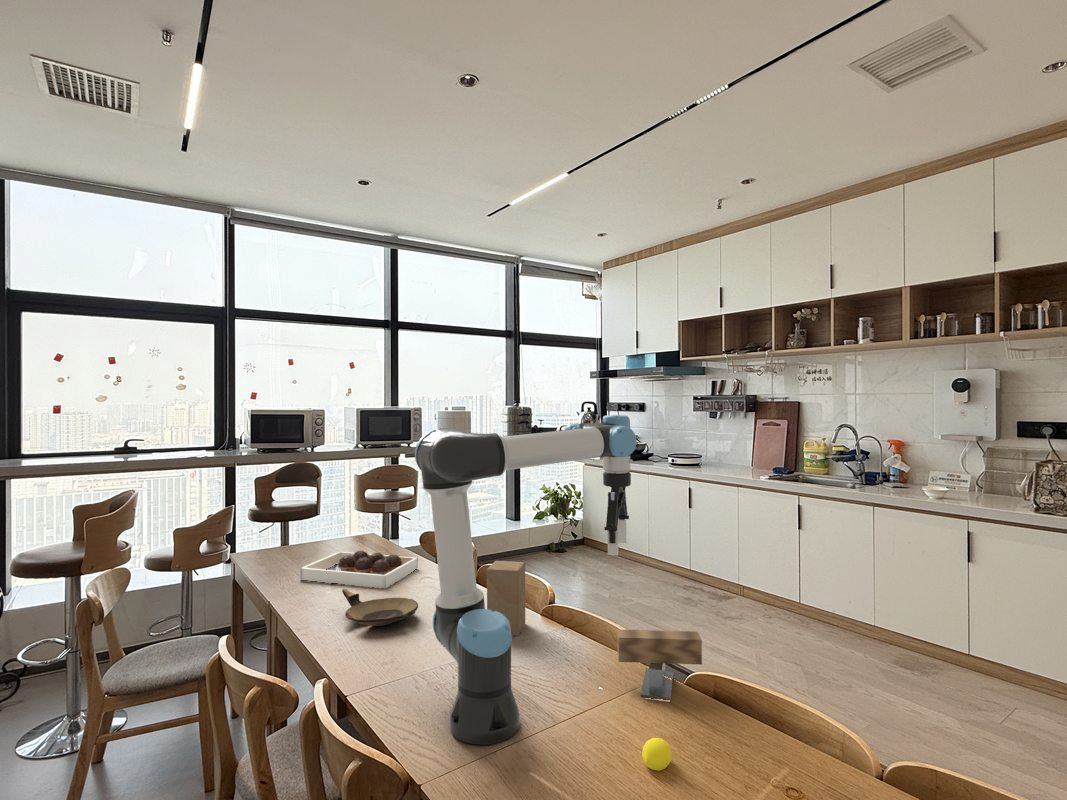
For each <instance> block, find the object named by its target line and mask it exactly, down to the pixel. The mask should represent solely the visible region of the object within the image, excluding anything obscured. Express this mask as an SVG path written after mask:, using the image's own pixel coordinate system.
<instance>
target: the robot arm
mask: <svg viewBox="0 0 1067 800" xmlns="http://www.w3.org/2000/svg"><path fill="white" fill-rule="evenodd" d="M630 420H631V419H630V417H629V416H628V415H626V414H625V415H624V414H623V415H622V414H621V415H620V414H618V415H617V414H616V415H615V414H612V415H609V414H607V415H606V414H605V415H604V416H603V417H602V420H601V421H602V422H600V423H599V422H597V423H596V422H595V423H593V422H592V423H590V422H589V423H578V422H577V423H572V424H568V425H566V427H564V429H563V430H555V431H554V430H553V431H544V432H536V433H535V432H534V433H527V434H518V435H507V436H501V435H500V434H499V433H498V432H491V433H475V432H470V431H469V432H468V431H463V430H455V429H451V428H447V427H445V428H441V427H440V428H436V429H435V428H434V429H431V430H430V431H428V432H426V433H424V434H423V435H422V436H421V438H420V439H419V440H417V444H416V446H415V450H414V457H415V458H414V459H415V462H416V465H417V467H418V468H419V470H420V471H421V479H422V488H423V489H422V490H424V491H426V493H428V494H429V495H430V502H431V503H430V504H431V512H432V522H433V523H432V524H433V530H434V541H435V542H434V543H435V548H436V549H435V550H436V560H437V570H438V578H439V588H440V593H439V595H437V597H436V598H435V603H434V604H435V610H434V613H433V617H432V629H433V632H434V635H435V637H436V640H437V641H438V642H439V643H440V645H441V646H442V647H444V648H445V650H446V651H447V652H448V653H449V654H450V656H451V657H452V658H453V659H454V660H455V661H456V663H457V685H458V686H457V693H456V695H455V696H456V697H455V700H454V703H453V706H452V710H451V713H450V719H449V722H450V724H449V726H450V732H451V734H452V735H453V736H454V737H455V738H456V739H458V740H459V741H462V742H463V743H467V744H473V745H491V744H497V743H500V742H503V741H506V740H507V739H509V738H511V737H512V736H514V734H515V733H516V732H517V731H518V729H519V727H520V710H519V708H518V704H517V701H516V698H515V695H514V692H513V690H512V689H513V688H512V641H513V639H512V638H513V636H512V634H511V629H510V623H509V621H508V619H507V618H506V617H505V616H504V615H503V614H501V613H499V612H497V611H494V612H492V610H488V609H487V608H486V605H485V594H484V592H483V591H482V590H481V589H480V588H478V587H477V579H476V578H477V577H476V569H475V561H474V560H475V559H474V549H473V538H472V531H471V519H470V510H469V501H468V489H469V488H470V487H471V485H472V484H473V481H476V480H482V479H487V478H489V479H490V478H493V477H500V476H503V475H504V474H505V472H506V471H510V470H517V469H523V468H524V469H525V468H532V467H539V466H546V465H552V464H560V463H567V462H575V461H582V460H589V459H595V458H596V459H597V458H602V470H603V473H602V475H603V476H602V480H603V481H602V482H603V486H605V487H609V488H610V491H608V493H607V508H606V509H607V511H606V520H605V521H606V524H605V526H604V531H607V556H619V544H620V543H621V544H627V520H629V519H630V515H628V507H627V496H626V487H628V488H629V487H630V486H631V485H632V484H631V483H632V479H631V478H632V475H631V474H632V473H631V464H632V463H633V461H634V460H633V459H631V454H633V452H634V451H635V450H636V446H637V437H636V433H635V432H634V430H632V428H631V421H630Z"/></svg>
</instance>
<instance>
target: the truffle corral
mask: <svg viewBox="0 0 1067 800" xmlns="http://www.w3.org/2000/svg"><path fill="white" fill-rule="evenodd" d="M354 553H355V552H349V551H338V552H336V553H333V554H331V555H329V556H327V557H324V558H322V559H319V560H317V561H313V562H311V563H310V564H307V565H304V566H302V567H300V568H299V570H300V575H299V576H300V577H299V578H300V580H309V581H308V582H310V581H317V582H316V583H320V582H325V583H324V584H331V583H338V584H337V585H341V584H345V585H344V586H351V585H355V586H354V587H362V586H363V587H362V588H372V587H374V588H375V589H382V588H383V589H387V588H389V587H391V586H392V585H393V584H396V583H397V582H399V581H400V580H403V579H404V578H405V577H407V576H409V575H410V574H412V573H414V572H415V571H416V570H415V569H417V568H418V569H419V563H418V560H419V559H418V557H411V556H399V555H398V556H399V557H400V558H401V560H402V565H401V566H399V567H398V568H396V569H394V570H392V571H390V572H389V573H387V574H385V575H379V574H368V573H357V572H346V571H337V570H333V569H331V568H333V567H335V566H334V565H335V564H336V563H339V562H340V561H339V560H340V559H341V558H342V557H344V556H346V555H351V556H353V554H354ZM367 554H368V556H371V555H372V554H373V553H367ZM383 555H384V558H385V559H384V560H386V558H387V557H388V556H390V555H387V554H386V555H385V554H383ZM332 566H333V567H332ZM330 567H331V568H330ZM328 568H329V569H328ZM326 569H327V570H326ZM418 569H417V570H418ZM414 570H415V571H414ZM413 571H414V572H413ZM411 572H412V573H411ZM408 574H409V575H408ZM395 582H396V583H395ZM390 585H391V586H390ZM383 589H382V590H383Z"/></svg>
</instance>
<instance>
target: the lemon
mask: <svg viewBox="0 0 1067 800" xmlns="http://www.w3.org/2000/svg"><path fill="white" fill-rule="evenodd" d="M641 756H642V760H643V762H644V764H645V765H646V767H647V768H648V769H650V770H652V771H657V772H660V771H663V770H665V769H666V768H667V767H668V765H670V763H671V761H672V758H673V752H672V749H671V747H670V743H668V742H667V741H665V740H664V739H663V738H661V737H652V738H650V739H649V740H647V741H646V742H645V743H644V745H643V747H642V752H641Z"/></svg>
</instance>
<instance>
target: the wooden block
mask: <svg viewBox="0 0 1067 800" xmlns="http://www.w3.org/2000/svg"><path fill="white" fill-rule="evenodd" d="M486 609H488V610H492V612H494V611H497V612H499V613H501V614H503V615H504V616H505V617H506V618H507V619H508V621H509V623H510V629H511V634H512V637H519V636H520V634H521V632H522V630H523V629H524V627H525V626H526V563H525V561H511V560H509V561H508V560H494V561H493V563H492V564H491V565H490V566H489V567H488V568H486Z"/></svg>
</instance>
